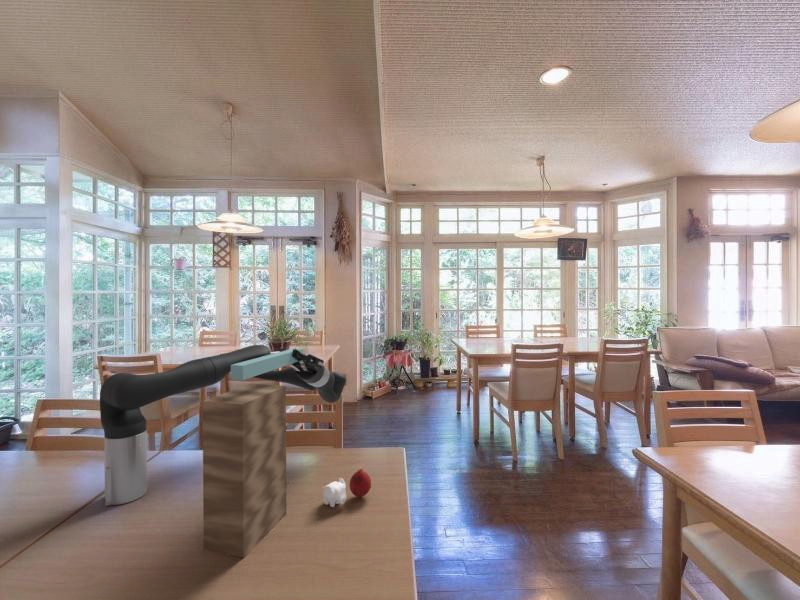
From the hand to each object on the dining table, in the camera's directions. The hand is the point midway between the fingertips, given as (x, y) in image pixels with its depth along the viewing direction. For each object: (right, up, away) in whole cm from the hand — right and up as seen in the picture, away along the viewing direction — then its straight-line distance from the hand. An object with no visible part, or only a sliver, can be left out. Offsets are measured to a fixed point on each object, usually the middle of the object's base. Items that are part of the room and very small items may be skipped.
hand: (287, 352), depth 101 cm
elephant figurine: (+14, -39, -5) cm, 42 cm away
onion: (+20, -39, -2) cm, 44 cm away
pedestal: (-4, -39, -16) cm, 42 cm away
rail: (-2, -3, -7) cm, 8 cm away
